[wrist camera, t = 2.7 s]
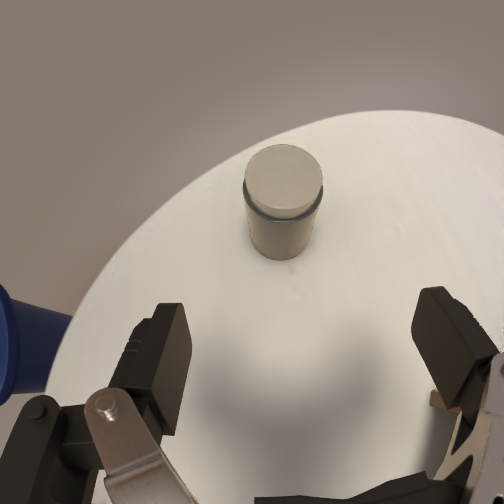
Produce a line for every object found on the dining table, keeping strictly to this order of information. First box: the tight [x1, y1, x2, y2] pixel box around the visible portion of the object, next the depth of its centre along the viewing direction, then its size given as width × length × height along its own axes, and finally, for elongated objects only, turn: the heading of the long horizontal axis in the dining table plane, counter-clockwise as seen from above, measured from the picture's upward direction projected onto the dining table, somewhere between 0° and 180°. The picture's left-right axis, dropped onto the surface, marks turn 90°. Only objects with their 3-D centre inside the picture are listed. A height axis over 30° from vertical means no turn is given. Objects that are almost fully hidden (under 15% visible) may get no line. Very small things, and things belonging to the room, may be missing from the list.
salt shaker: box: [243, 144, 323, 260], centre depth 19 cm, size 4×4×8 cm
